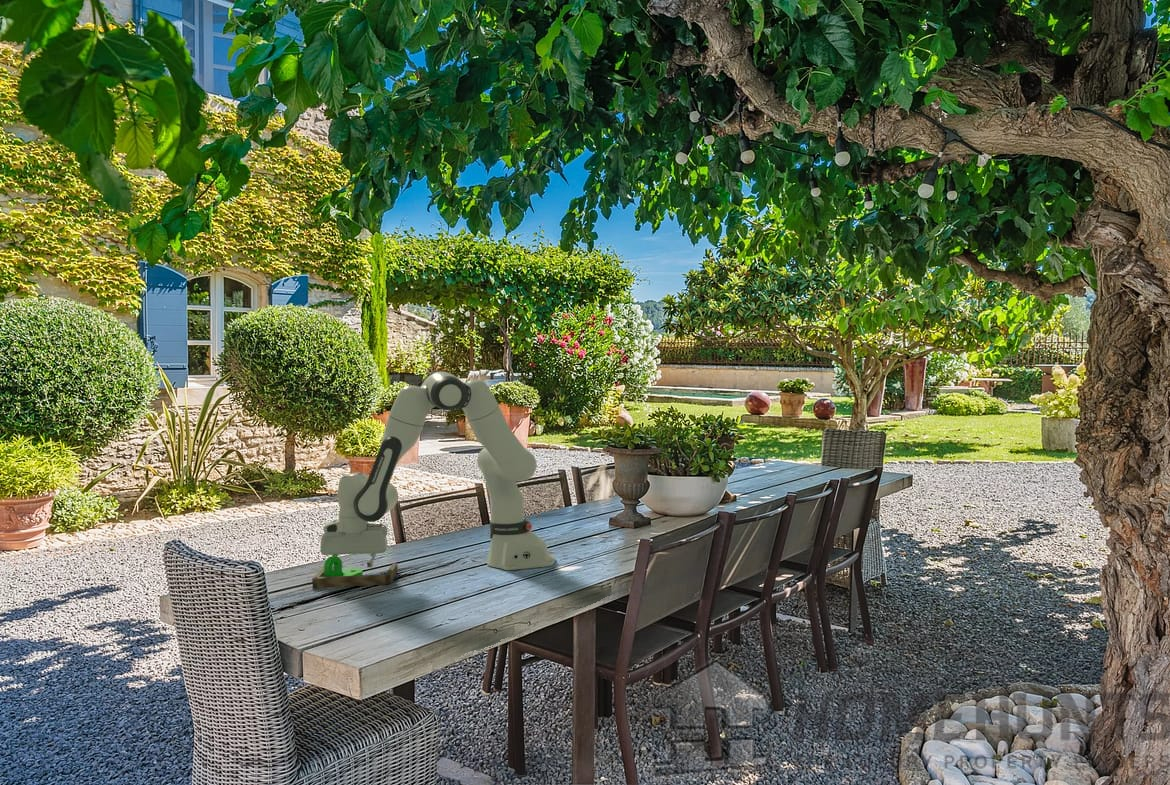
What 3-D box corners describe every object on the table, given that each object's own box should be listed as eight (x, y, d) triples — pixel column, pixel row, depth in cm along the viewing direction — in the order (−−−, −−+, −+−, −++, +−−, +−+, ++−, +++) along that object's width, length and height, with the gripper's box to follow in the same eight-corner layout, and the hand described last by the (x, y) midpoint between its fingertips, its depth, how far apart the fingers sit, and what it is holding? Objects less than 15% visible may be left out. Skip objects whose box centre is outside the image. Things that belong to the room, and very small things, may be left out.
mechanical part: (339, 586, 230) (338, 560, 229) (324, 584, 232) (323, 558, 232) (366, 576, 241) (365, 551, 240) (351, 574, 243) (351, 549, 243)
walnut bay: (397, 572, 243) (397, 563, 243) (390, 585, 230) (390, 575, 229) (324, 575, 241) (323, 566, 241) (312, 588, 228) (312, 578, 227)
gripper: (388, 520, 242) (390, 563, 242) (323, 523, 240) (324, 566, 241) (385, 525, 236) (386, 568, 236) (318, 527, 234) (319, 571, 234)
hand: (354, 567), depth 238 cm, fingers open, 8 cm apart
